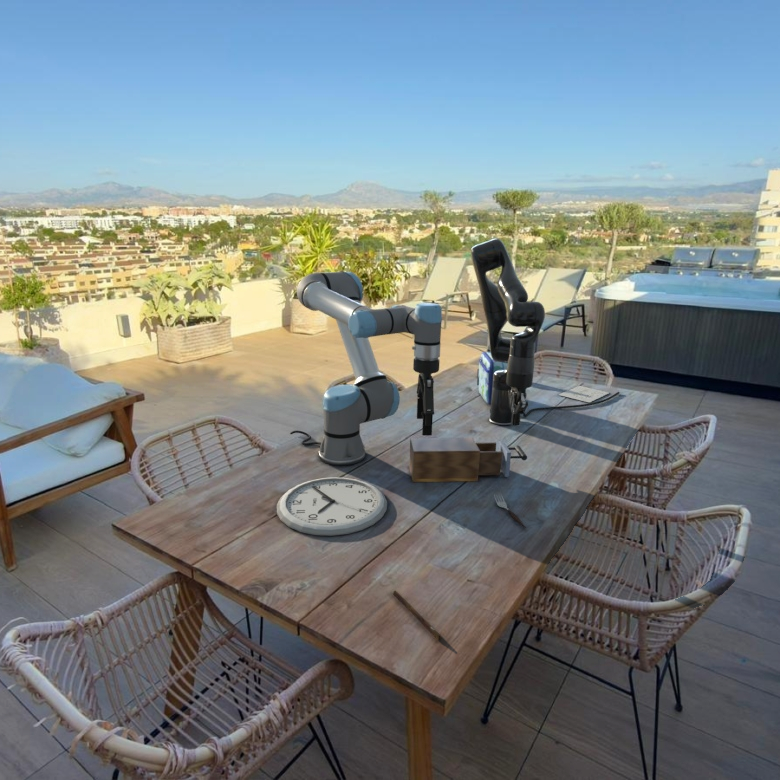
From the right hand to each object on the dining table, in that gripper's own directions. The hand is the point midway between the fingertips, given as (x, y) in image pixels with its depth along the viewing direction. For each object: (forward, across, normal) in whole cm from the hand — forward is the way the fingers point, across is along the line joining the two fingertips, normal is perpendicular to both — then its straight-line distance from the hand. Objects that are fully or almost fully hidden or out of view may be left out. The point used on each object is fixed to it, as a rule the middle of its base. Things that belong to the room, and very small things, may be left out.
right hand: (515, 424), depth 159 cm
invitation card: (+16, -79, +58) cm, 99 cm away
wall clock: (+16, +18, -55) cm, 60 cm away
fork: (+16, +25, -7) cm, 30 cm away
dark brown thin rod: (+16, +62, -37) cm, 74 cm away
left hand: (0, 0, -28) cm, 28 cm away
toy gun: (+16, -112, +19) cm, 114 cm away
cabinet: (+16, 0, -22) cm, 27 cm away
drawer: (+15, 0, -9) cm, 17 cm away
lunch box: (+16, -72, +12) cm, 75 cm away
